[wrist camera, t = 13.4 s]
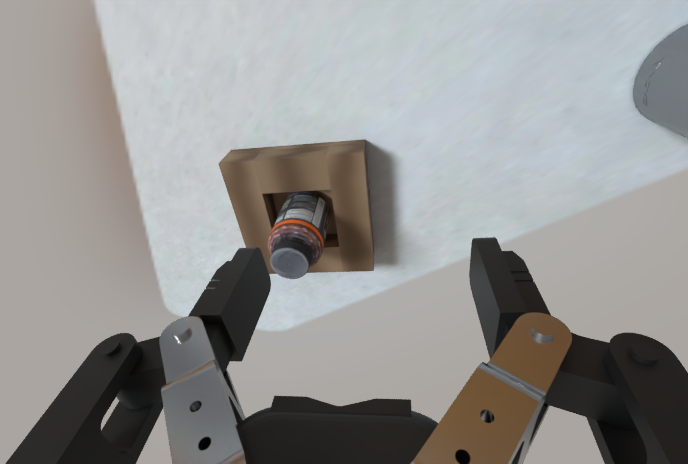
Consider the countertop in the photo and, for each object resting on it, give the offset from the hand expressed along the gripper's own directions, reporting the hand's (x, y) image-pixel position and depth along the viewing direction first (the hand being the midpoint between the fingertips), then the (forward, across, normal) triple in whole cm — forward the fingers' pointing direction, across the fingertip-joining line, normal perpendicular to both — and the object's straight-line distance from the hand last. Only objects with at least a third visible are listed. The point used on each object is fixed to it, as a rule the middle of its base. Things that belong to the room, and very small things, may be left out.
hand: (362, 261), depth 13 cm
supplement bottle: (+27, +10, +13) cm, 32 cm away
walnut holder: (+28, +10, +13) cm, 33 cm away
